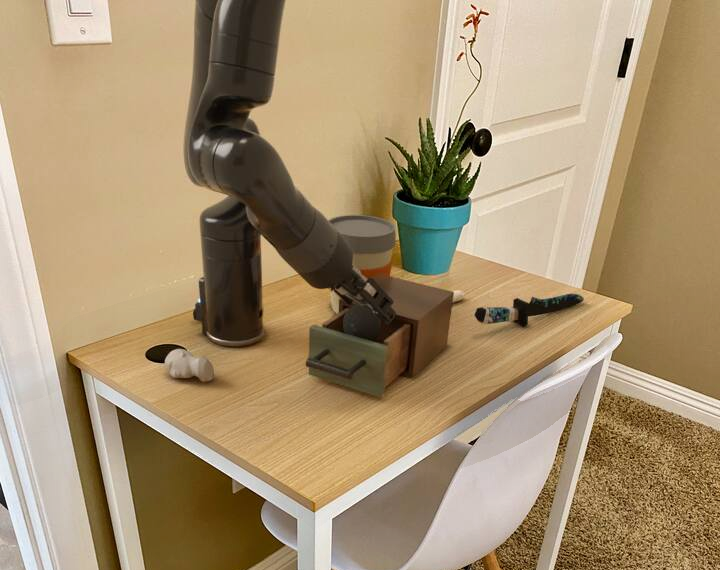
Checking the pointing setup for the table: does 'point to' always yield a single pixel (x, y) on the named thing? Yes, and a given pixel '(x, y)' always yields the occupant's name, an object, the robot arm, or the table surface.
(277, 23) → the robot arm
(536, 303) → the knife
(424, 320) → the cabinet
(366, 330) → the light bulb
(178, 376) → the pale two-lobed sculpture
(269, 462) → the table surface
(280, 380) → the table surface
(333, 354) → the drawer
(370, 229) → the reusable coffee cup
